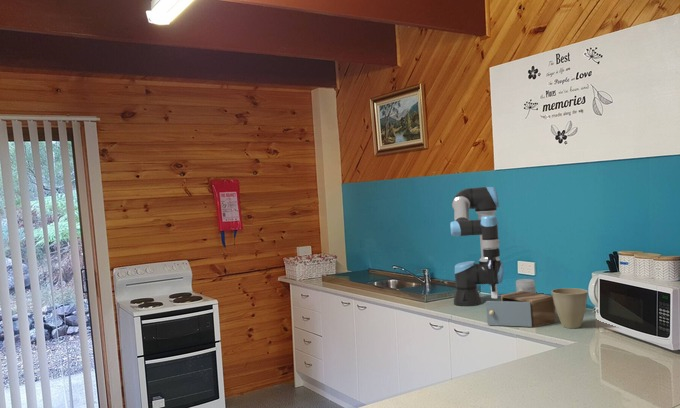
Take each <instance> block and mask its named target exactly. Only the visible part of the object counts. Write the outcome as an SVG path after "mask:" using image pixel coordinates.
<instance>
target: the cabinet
mask: <svg viewBox="0 0 680 408" xmlns="http://www.w3.org/2000/svg"><path fill="white" fill-rule="evenodd" d="M500 301H512V302H530V304H531V317H532V328H537V327H540V326H545V325H549V324H553V323H557V314H556V313H557V311H556V308H555V304H554V301H553V296H552V294H551V295H550V294H543V293H539V292H538V293H537V292H536V293H532V292H526V291H519V292H516V291H514V292H509V293H505V294H501V295H500Z"/></svg>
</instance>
